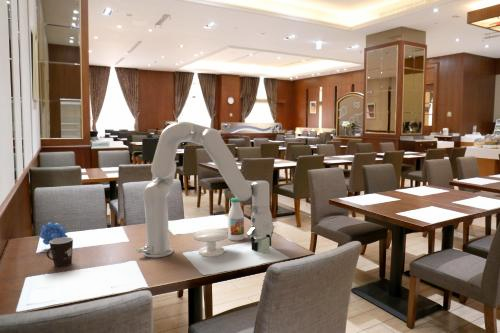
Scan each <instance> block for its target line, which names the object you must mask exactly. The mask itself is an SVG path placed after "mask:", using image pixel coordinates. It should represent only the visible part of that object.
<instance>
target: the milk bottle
mask: <svg viewBox="0 0 500 333" xmlns="http://www.w3.org/2000/svg"><path fill="white" fill-rule="evenodd" d="M230 204H231V206H230V209H229V211H228V214H227V215H228V216H227V219H228V220H227V221H228V222H227V223H228V224H227V226H228V229H227V232H228V240H230V241H233V242H234V241H235V242H236V241H243V240H244V239H245V218H244V217H245V214H244V211H243V209H242V206H241V200H238V199H237V198H236V197H231V198H230Z"/></svg>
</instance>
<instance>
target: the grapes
mask: <svg viewBox="0 0 500 333" xmlns="http://www.w3.org/2000/svg"><path fill="white" fill-rule="evenodd" d="M40 231H41V232H40V233H39V235H38V236H39V238H40V239H42V243H43V244H44V245H46V246H48V245H50V243H49V242H50V241H51V240H53V239H57V238H63V237H69V236H68V235H67V232H68V231H67V229H66V228H65V227H62V225H61V224H60V223H52V222H48V223H46V226H45V225H43V226H41V227H40Z"/></svg>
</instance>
